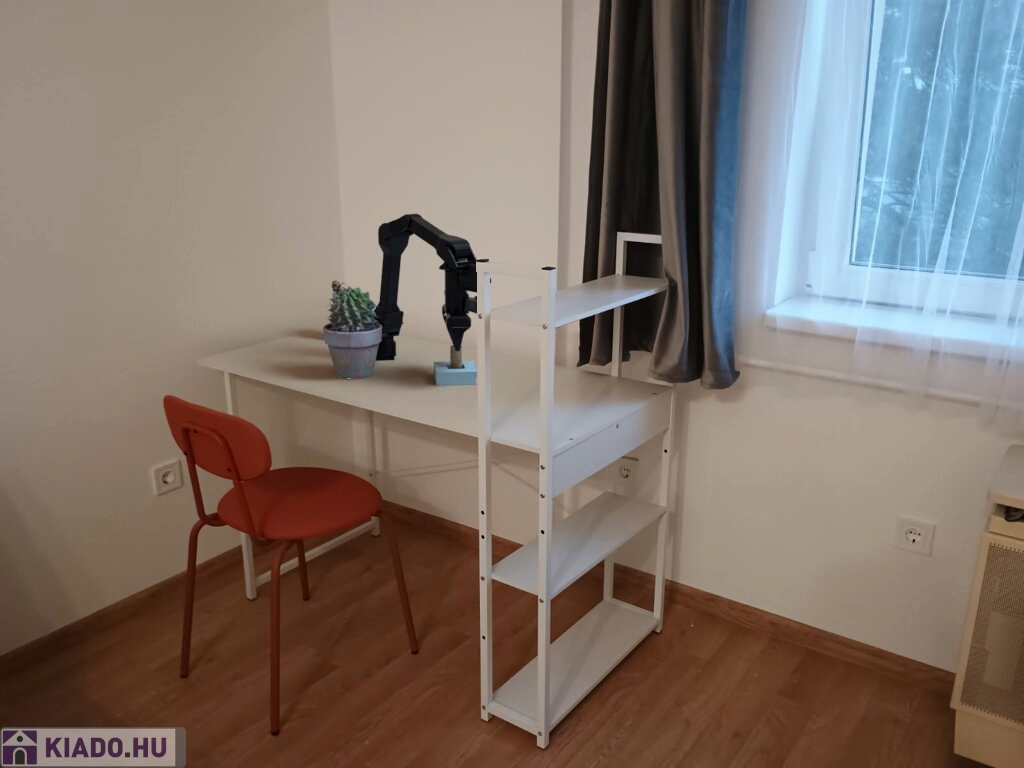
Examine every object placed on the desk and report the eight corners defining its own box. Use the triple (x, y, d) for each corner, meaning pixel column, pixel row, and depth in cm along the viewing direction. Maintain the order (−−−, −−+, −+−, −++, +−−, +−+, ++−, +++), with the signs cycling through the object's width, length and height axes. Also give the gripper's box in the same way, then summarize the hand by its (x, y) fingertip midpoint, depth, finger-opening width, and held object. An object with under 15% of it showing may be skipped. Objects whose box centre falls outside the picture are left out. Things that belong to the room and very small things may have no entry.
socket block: (436, 385, 231) (436, 372, 230) (433, 374, 241) (433, 361, 240) (478, 384, 232) (478, 371, 232) (474, 373, 243) (474, 360, 242)
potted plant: (379, 386, 229) (376, 290, 222) (309, 380, 234) (304, 286, 227) (403, 369, 246) (401, 279, 239) (337, 363, 250) (334, 276, 243)
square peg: (450, 380, 235) (450, 348, 233) (450, 377, 238) (449, 345, 236) (462, 380, 236) (462, 347, 233) (461, 377, 239) (461, 345, 236)
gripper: (491, 294, 222) (490, 354, 227) (482, 282, 240) (482, 338, 244) (446, 295, 221) (447, 355, 225) (441, 282, 238) (442, 339, 243)
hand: (456, 346), depth 234 cm, fingers open, 9 cm apart
